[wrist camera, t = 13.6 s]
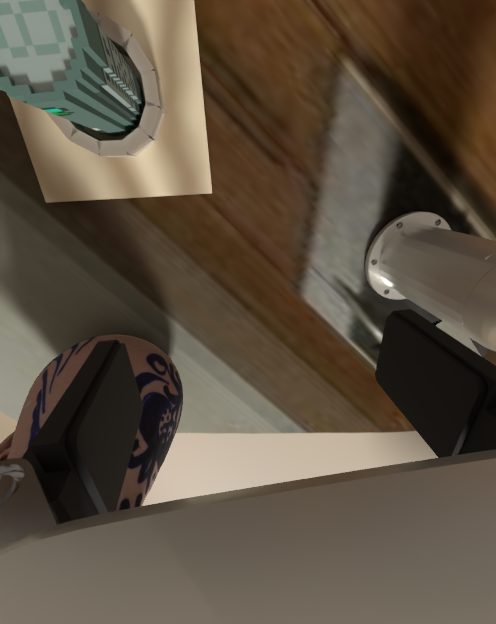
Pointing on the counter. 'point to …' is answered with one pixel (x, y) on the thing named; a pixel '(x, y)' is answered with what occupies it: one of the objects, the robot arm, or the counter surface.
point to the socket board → (176, 132)
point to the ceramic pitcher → (154, 421)
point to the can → (67, 65)
